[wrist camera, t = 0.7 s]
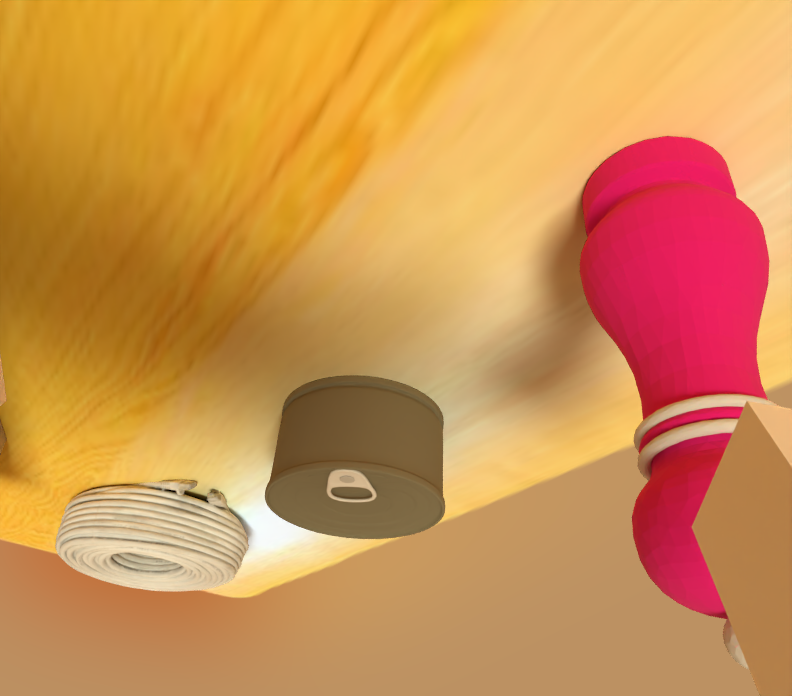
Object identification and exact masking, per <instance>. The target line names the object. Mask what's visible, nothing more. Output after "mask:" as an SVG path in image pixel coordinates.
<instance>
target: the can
mask: <svg viewBox="0 0 792 696" xmlns="http://www.w3.org/2000/svg"><path fill="white" fill-rule="evenodd" d="M443 424H444V422H443V415H442V412H441V410H440V408H439V407H438V406H437V404H436V403H435V402H434V401H433V400H432V399H430V398H429V397H428V396H426V395H425V394H424V393H422V392H420V391H418V390H416V389H414V388H412V387H410V386H407V385H405V384H402V383H399V382H396V381H392V380H388V379H383V378H377V377H370V376H336V377H328V378H323V379H319V380H315V381H312V382H310V383H307V384H305V385H303V386H301V387H299V388H297V389H296V390H295V391H293V392H292V393H291V394H290V395H289V396H288V398H287V399H286V401H285V403H284V406H283V413H282V420H281V425H280V430H279V435H278V441H277V446H276V452H275V457H274V462H273V468H272V473H271V477H270V481H269V483H268V485H267V487H266V491H265V500H266V503H267V505H268V506H269V508H270V509H271V510H272V511H273V512H274V513H275V514H276V515H278V516H279V517H281V518H282V519H284V520H286V521H288V522H290V523H292V524H294V525H296V526H299V527H301V528H304V529H307V530H311V531H314V532H318V533H322V534H327V535H332V536H338V537H346V538H358V539H384V538H395V537H402V536H407V535H411V534H415V533H418V532H421V531H424V530H426V529H429V528H431V527H432V526H434V525H435V524H437V523H438V522H439V521H440V520H441V519H442V517H443V515H444V513H445V501H444V498H443Z"/></svg>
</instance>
